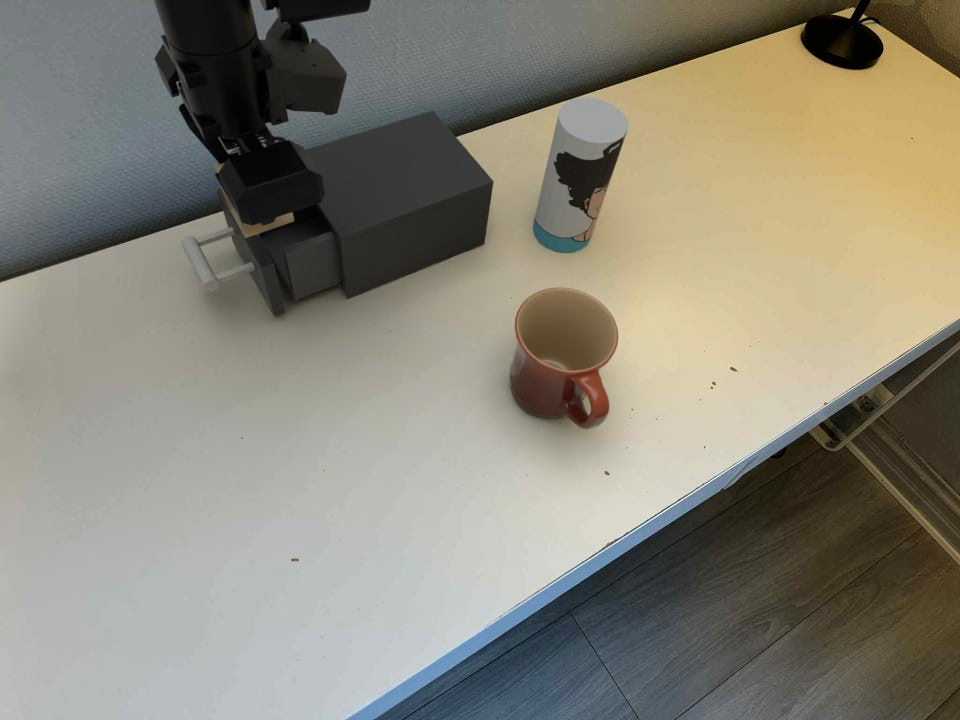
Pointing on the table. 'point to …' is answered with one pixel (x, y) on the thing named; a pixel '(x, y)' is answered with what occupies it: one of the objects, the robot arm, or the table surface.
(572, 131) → the cup
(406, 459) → the table surface
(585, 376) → the mug
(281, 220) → the block
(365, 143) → the cabinet
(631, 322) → the table surface
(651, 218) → the table surface
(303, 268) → the drawer
